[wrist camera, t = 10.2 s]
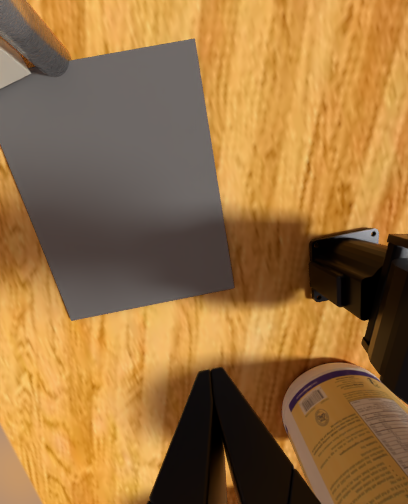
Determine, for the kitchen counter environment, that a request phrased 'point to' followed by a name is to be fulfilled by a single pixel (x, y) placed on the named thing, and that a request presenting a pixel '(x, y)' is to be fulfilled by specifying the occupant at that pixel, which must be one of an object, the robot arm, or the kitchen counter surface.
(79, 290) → the mat
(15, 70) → the panel
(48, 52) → the gate post
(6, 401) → the kitchen counter surface
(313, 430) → the supplement tub
